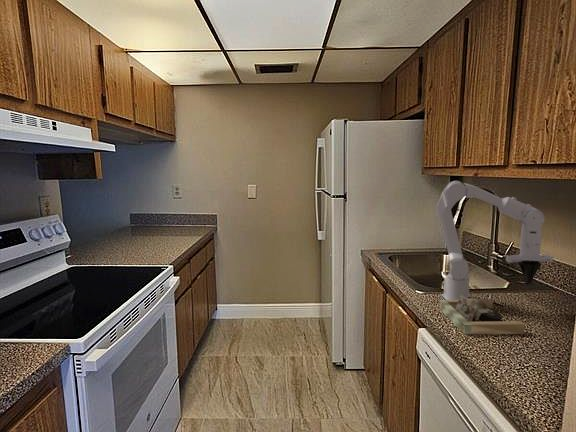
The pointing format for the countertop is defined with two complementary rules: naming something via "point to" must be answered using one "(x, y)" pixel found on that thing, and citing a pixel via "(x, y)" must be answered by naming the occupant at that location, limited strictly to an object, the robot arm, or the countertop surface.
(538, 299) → the countertop surface
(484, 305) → the caster wheel
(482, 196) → the robot arm
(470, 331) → the frame
